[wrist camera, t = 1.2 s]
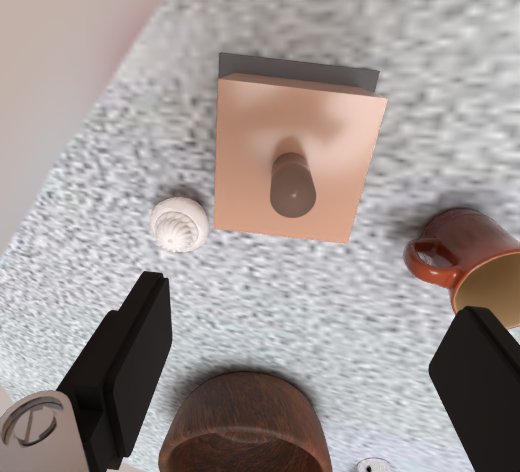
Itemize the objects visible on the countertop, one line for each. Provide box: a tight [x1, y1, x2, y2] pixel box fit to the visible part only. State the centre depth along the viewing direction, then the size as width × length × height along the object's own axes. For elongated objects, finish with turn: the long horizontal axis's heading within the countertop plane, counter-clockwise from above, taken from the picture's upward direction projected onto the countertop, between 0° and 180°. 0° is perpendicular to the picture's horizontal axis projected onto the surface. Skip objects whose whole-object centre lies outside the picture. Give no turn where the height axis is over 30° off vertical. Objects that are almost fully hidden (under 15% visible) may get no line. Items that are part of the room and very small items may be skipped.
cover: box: [214, 73, 388, 244], centre depth 25 cm, size 11×11×14 cm
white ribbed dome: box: [150, 197, 209, 253], centre depth 33 cm, size 6×6×7 cm
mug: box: [403, 209, 520, 329], centre depth 31 cm, size 12×9×10 cm
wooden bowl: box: [158, 372, 332, 472], centre depth 50 cm, size 25×25×10 cm
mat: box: [219, 53, 380, 93], centre depth 31 cm, size 14×14×1 cm
